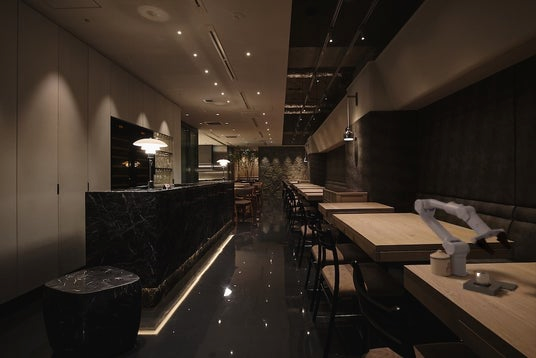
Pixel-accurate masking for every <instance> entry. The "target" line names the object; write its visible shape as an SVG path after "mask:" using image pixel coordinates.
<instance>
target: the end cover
mask: <svg viewBox="0 0 536 358" xmlns="http://www.w3.org/2000/svg"><path fill="white" fill-rule="evenodd" d="M475 279H476V285H479V286H484V287H489V282H490V274H489V272H486V271H480V270H477V271H475Z"/></svg>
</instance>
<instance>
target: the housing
mask: <svg viewBox="0 0 536 358" xmlns="http://www.w3.org/2000/svg"><path fill="white" fill-rule="evenodd" d="M462 289H463V290H466V291H470V292H475V293H478V294H482V295H483V294H484V295H487V296H492V297H495V296H497V294H499V293H501V291H503V289H502V285H501V284H497V283H492V282H490V281H489V287H484V286H479V285H476V278H473V277H472V278H470V279H469V280H467V281H465V282H463V283H462Z"/></svg>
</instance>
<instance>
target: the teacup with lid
mask: <svg viewBox="0 0 536 358" xmlns="http://www.w3.org/2000/svg"><path fill="white" fill-rule="evenodd" d="M429 257H430V258H429V259H430V271H431V274H433V275H434V276H437V277H449V276H451V275H452V274H451V262H450V258H451V257H450V255H448V254H447V253H446V252H443V251H442V250H441V249H438V250H437V251H435V252H434V253H431V254H430V255H429Z"/></svg>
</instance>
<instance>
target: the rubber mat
mask: <svg viewBox="0 0 536 358" xmlns="http://www.w3.org/2000/svg"><path fill="white" fill-rule="evenodd" d="M489 282H492V283H497V284H501V285H502V290H505V291H511V292H513V291H514V290H515V289H516V288H517V287H518V284H517V283H511V282H506V281H501V280H497V279H492V280H489Z"/></svg>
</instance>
